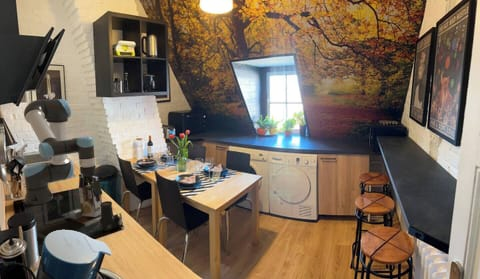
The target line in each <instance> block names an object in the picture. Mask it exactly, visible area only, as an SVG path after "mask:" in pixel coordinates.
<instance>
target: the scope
mask: <svg viewBox="0 0 480 279" xmlns="http://www.w3.org/2000/svg"><path fill="white" fill-rule="evenodd" d="M112 202H113V201H110V200H109V201H108V200H107V201H102V203H101V204H100V207H101V214H100V215H101V217H100V218H99V219H100V220H99V219H98V220H99V221H98V223H99V224H101V225H103V231H106V232H108V231H111V230H113V229H116V228H121V227H122V226H123V227H124V221H123V216H122V213H121V212H120V213H119V214H118V213H116V214H114V213H113V212H114V210H113V203H112Z"/></svg>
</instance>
